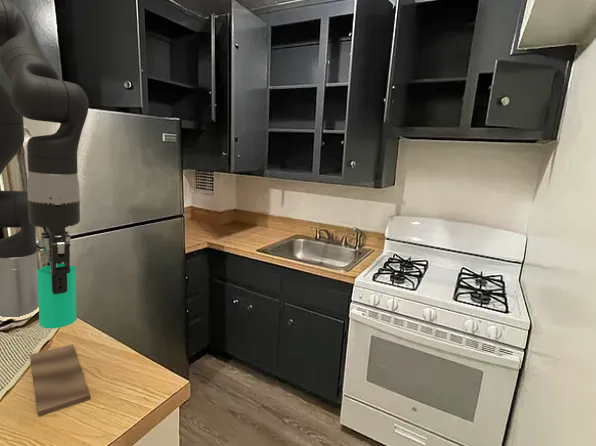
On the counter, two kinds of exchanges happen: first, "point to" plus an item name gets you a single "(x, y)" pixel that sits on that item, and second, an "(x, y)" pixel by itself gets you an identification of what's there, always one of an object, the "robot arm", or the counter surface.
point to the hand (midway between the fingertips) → (57, 285)
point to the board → (58, 379)
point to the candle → (56, 299)
